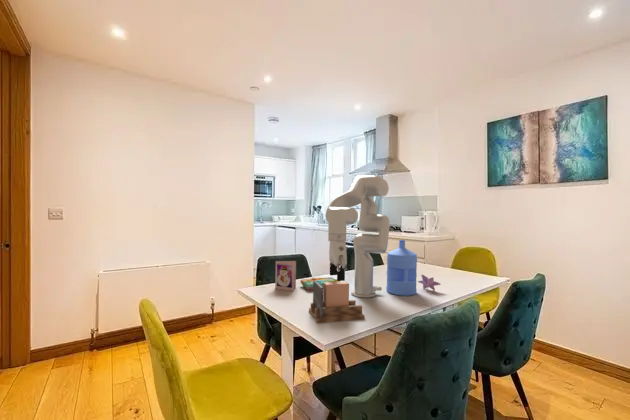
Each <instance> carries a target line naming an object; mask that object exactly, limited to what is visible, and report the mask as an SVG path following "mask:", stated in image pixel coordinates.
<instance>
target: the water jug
mask: <svg viewBox="0 0 630 420" xmlns="http://www.w3.org/2000/svg"><path fill="white" fill-rule="evenodd" d="M398 244H399V245H398V247H397V248H396V249H393V250H390V251H389V252H387V255H386V287H385V289H386V292H387V293H389V294H392V295H396V296H399V297H400V296H401V297H402V296H403V297H408V296H409V297H410V296H414V295H416V294H417V276H418V275H417V267H418V266H417V263H418V255H417V253H415V252H413V251H411V250H410V249H407V248H406V240H405V239H399V240H398Z"/></svg>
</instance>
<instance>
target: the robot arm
mask: <svg viewBox="0 0 630 420" xmlns="http://www.w3.org/2000/svg"><path fill="white" fill-rule="evenodd" d="M388 193H389V184H388V181H386V180H385V179H384V178H382V177H381V176H379V175H376V174H375V175H374V174H373V175H358V176H356V177H355V178H354V179H353V181H352V182H351V184H350V186H349V188H348V189H347V191H346V192H344V193H342V194H340V195H339V196H336V197H335V198H334V199H332V201H330V203H329V205H328V207H327V209H326V211H325V216H324V217H325V220H326V221H327V223H328V228H327V229H328V231H327V232H328V233H327V235H328V236H327V237H328V240H327V241H328V242H329V250H328V251H329V252H328V255H329V257H328V259H329V276H336V279H337V281H341V282H342V281H346V266H347V264H348V256H347V255H348V253H347V244H346V242H347V225H348V226H349V225H353V224H355V223H356V222H357V220H358V218H359V221H358V228H359V230H360V231H361V232H365V233H358V234H356V235H354V237H353V242H352V243H353V249H354V289H352V290H351V291H350V292H351V293H350V294H351V296H354V297H357V298H363V299H365V298H367V299H368V298H373V297H375V296H376V295H377V293H376V292H377V291H382V286H376V285H374V259H373V257H372V256H371V254H380V255H382V254H385V253H386V252H387V250H388V245H389V235H390V226H391V225H390V218H389V216H387V215H386V214H379V213H378V214H377V210H378V206H377V204H376V202H375V200H374V199H373V198H372V197H385V196H387V195H388ZM358 205H360V211H359V212H360V213H358V211H357V209H356V208H354V207H355V206H358ZM373 233H375V234H373ZM376 233H378V234H376ZM370 253H371V254H370Z"/></svg>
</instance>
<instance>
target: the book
mask: <svg viewBox="0 0 630 420" xmlns="http://www.w3.org/2000/svg"><path fill="white" fill-rule="evenodd" d="M349 300H350V283H349V282H348V281H346V280H345V281H341V282H324V288H323V308H324V307H337V306H349Z"/></svg>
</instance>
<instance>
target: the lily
mask: <svg viewBox="0 0 630 420" xmlns="http://www.w3.org/2000/svg"><path fill="white" fill-rule="evenodd" d="M420 277H421V280H417V283H419V284H422V289H424V290H425V289H428V288H430V289H431V290H433V291H436V288H435V286H441V285H442V284H441V282H438V281H435V279H434V277H430V278H429V277H427V276H426V275H425V274H421V275H420Z"/></svg>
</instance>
